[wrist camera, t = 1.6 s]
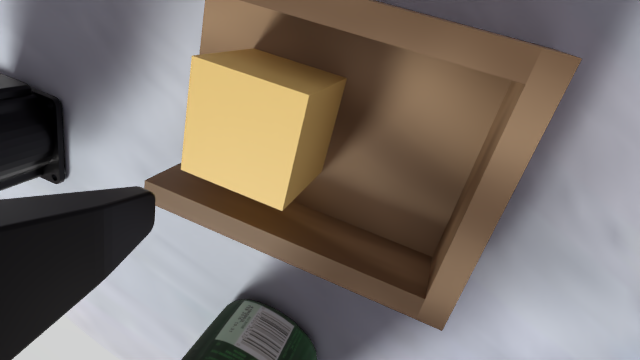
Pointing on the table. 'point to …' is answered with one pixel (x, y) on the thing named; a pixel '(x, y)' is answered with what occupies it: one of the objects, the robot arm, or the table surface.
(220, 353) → the coffee jar
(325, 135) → the ochre cube
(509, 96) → the walnut cubby
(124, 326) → the table surface
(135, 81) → the table surface
